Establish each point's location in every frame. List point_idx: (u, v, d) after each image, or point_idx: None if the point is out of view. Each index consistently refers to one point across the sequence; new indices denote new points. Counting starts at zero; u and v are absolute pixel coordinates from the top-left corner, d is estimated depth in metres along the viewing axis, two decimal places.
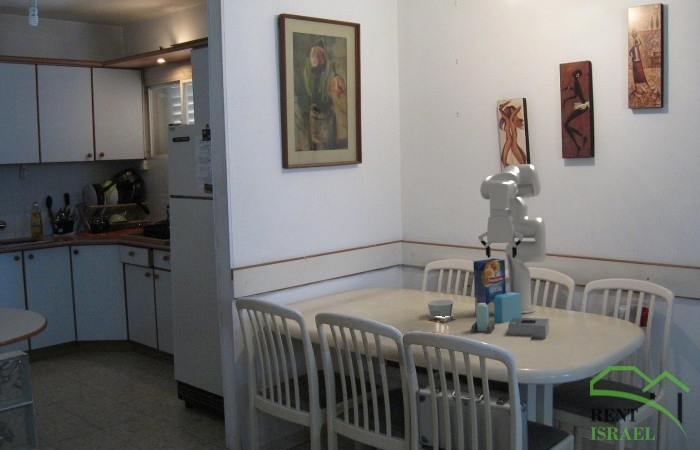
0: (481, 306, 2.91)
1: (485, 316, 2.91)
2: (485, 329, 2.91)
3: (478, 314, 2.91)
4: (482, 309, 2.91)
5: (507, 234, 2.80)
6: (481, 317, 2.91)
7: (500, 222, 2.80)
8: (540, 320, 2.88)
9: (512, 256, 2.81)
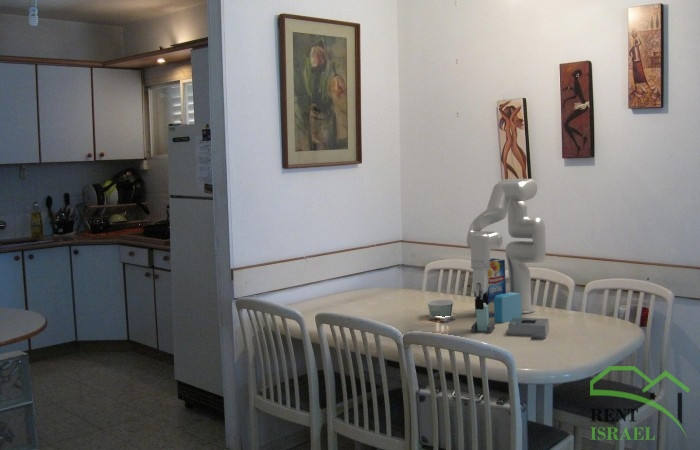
0: None
1: (485, 316, 2.91)
2: (485, 329, 2.91)
3: (478, 314, 2.91)
4: None
5: None
6: (481, 317, 2.91)
7: (487, 272, 2.91)
8: (540, 320, 2.88)
9: (487, 303, 2.96)
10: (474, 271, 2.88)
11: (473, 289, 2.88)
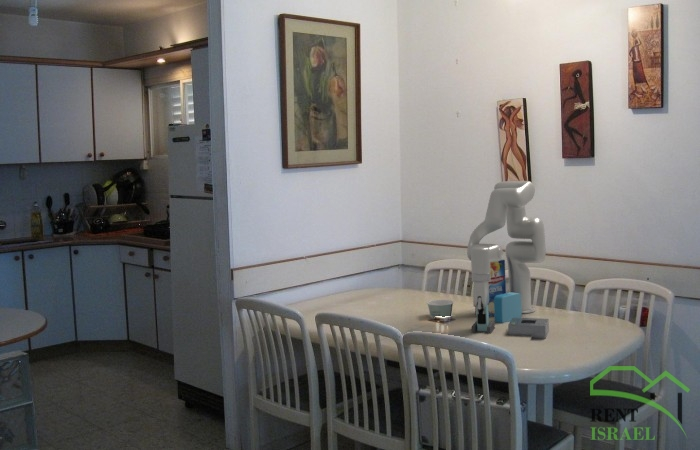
0: None
1: None
2: (485, 329, 2.91)
3: None
4: None
5: None
6: None
7: (488, 285, 2.91)
8: (540, 320, 2.88)
9: None
10: (475, 284, 2.88)
11: (474, 302, 2.89)
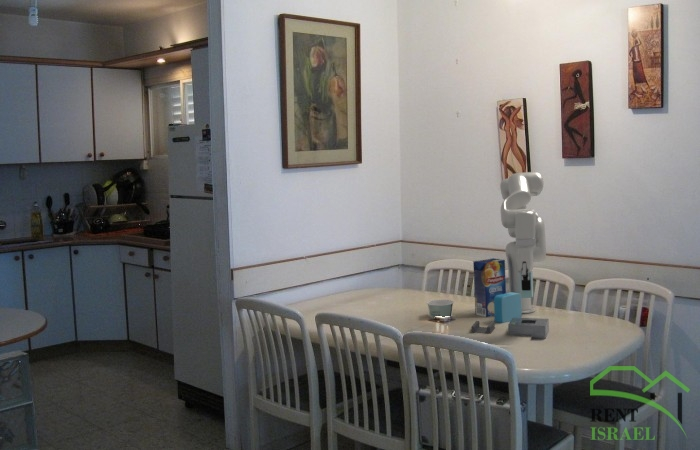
0: None
1: (530, 282, 2.83)
2: (529, 296, 2.83)
3: None
4: None
5: None
6: None
7: (532, 250, 2.84)
8: (540, 320, 2.88)
9: None
10: (519, 249, 2.80)
11: (518, 268, 2.81)
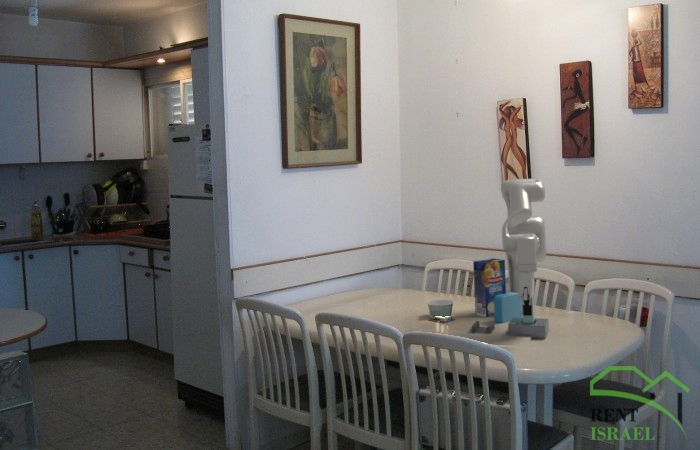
0: None
1: None
2: (531, 321, 2.84)
3: None
4: None
5: None
6: None
7: (533, 275, 2.84)
8: (540, 320, 2.88)
9: None
10: (521, 275, 2.81)
11: (520, 293, 2.82)
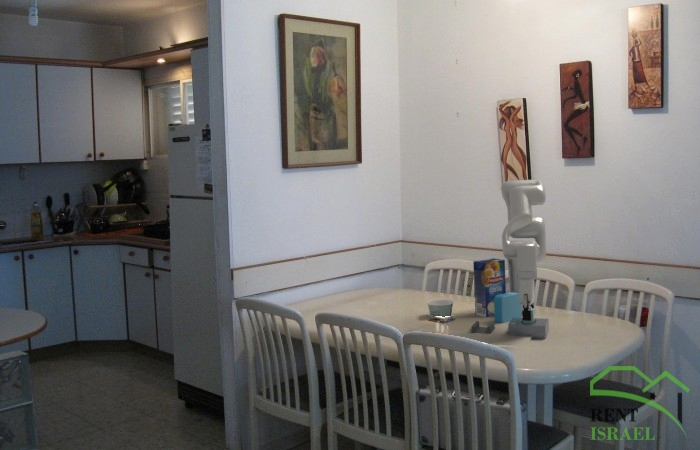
0: None
1: (531, 320, 2.84)
2: None
3: None
4: None
5: (534, 293, 2.88)
6: (527, 321, 2.85)
7: None
8: (540, 320, 2.88)
9: None
10: (521, 282, 2.82)
11: (520, 300, 2.82)
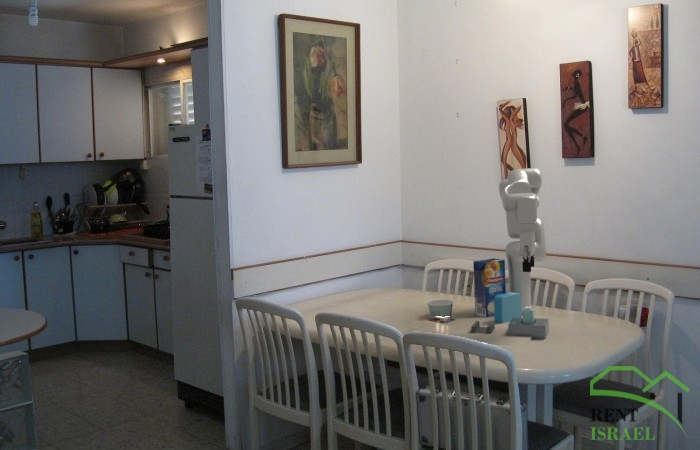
0: (527, 310, 2.85)
1: (531, 320, 2.84)
2: None
3: (524, 318, 2.85)
4: (528, 312, 2.84)
5: None
6: (527, 321, 2.85)
7: (534, 234, 2.89)
8: (540, 320, 2.88)
9: (533, 265, 2.94)
10: (521, 234, 2.85)
11: (520, 252, 2.86)
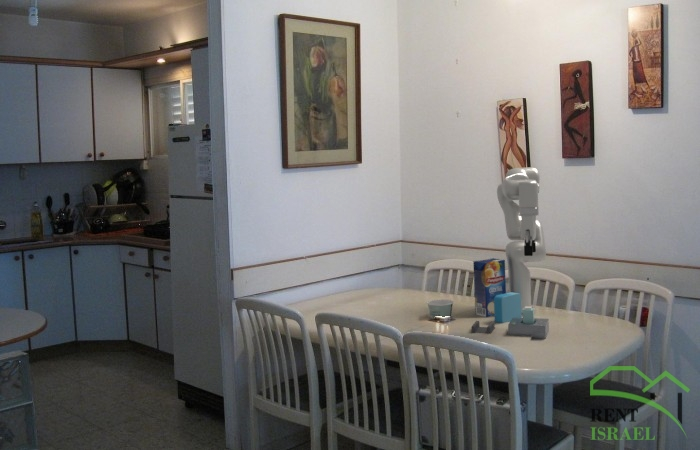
0: (527, 310, 2.85)
1: (531, 320, 2.84)
2: None
3: (524, 318, 2.85)
4: (528, 312, 2.84)
5: None
6: (527, 321, 2.85)
7: (535, 219, 2.93)
8: (540, 320, 2.88)
9: (535, 251, 2.98)
10: (523, 218, 2.90)
11: (522, 236, 2.90)
